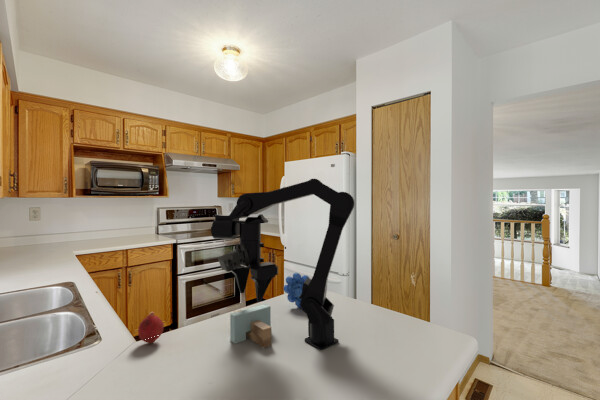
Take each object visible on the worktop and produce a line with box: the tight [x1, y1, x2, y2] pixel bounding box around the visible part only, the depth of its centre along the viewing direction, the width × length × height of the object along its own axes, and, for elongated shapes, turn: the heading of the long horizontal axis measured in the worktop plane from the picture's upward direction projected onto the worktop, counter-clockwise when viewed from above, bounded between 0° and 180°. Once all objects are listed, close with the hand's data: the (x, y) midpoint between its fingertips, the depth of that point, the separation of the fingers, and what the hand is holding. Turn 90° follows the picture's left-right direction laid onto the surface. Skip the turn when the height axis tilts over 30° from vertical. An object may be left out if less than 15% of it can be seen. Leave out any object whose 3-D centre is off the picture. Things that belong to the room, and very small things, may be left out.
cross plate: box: [229, 304, 272, 344], centre depth 79 cm, size 2×11×7 cm, turn 129°
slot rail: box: [234, 309, 272, 349], centre depth 79 cm, size 16×2×4 cm, turn 39°
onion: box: [137, 311, 165, 344], centre depth 75 cm, size 6×6×8 cm
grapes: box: [283, 272, 310, 309], centre depth 99 cm, size 12×7×12 cm, turn 85°
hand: (250, 297), depth 79 cm, fingers open, 9 cm apart
